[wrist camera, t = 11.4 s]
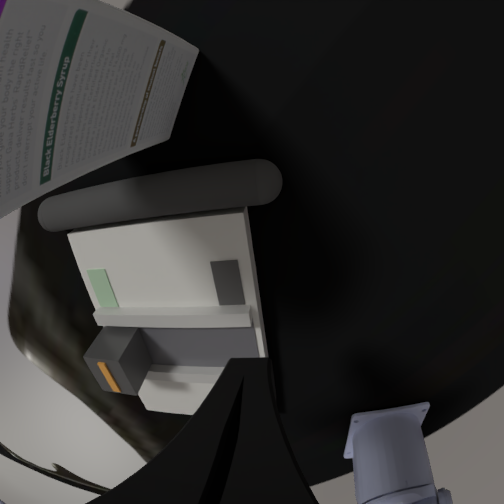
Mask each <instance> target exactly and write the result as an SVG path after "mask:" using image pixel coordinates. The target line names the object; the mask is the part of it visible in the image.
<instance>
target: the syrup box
mask: <svg viewBox="0 0 504 504" xmlns="http://www.w3.org/2000/svg"><path fill="white" fill-rule="evenodd" d="M198 53H199V49H198V48H196V47H195V46H193V45H191V44H189V43H188V42H186V41H184V40H183V39H181V38H180V37H178V36H176V35H174V34H172V33H170V32H168V31H166V30H165V29H163V28H161V27H159V26H157V25H155V24H153V23H150V22H148V21H146V20H144V19H142V18H140V17H138V16H136V15H133V14H131V13H129V12H127V11H124V10H122V9H120V8H117V7H114V6H112V5H110V4H107V3H104V2H102V1H99V0H0V219H1V218H2V217H4V216H6V215H7V214H9V213H11V212H12V211H14V210H16V209H18V208H20V207H21V206H23V205H25V204H27V203H28V202H30V201H32V200H34V199H36V198H38V197H40V196H42V195H43V194H45V193H47V192H49V191H51V190H53V189H55V188H57V187H59V186H61V185H63V184H66V183H68V182H70V181H72V180H74V179H76V178H78V177H80V176H82V175H84V174H86V173H88V172H91V171H93V170H95V169H98V168H100V167H102V166H104V165H107V164H109V163H111V162H113V161H116V160H118V159H120V158H123V157H125V156H127V155H130V154H132V153H135V152H137V151H140V150H143V149H145V148H148V147H151V146H153V145H156V144H159V143H162V142H164V141H167V140H168V139H169V138H170V135H171V132H172V129H173V125H174V122H175V119H176V116H177V113H178V110H179V107H180V104H181V100H182V97H183V95H184V91H185V88H186V86H187V83H188V80H189V77H190V74H191V71H192V69H193V66H194V63H195V61H196V58H197V55H198Z"/></svg>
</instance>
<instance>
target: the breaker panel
mask: <svg viewBox="0 0 504 504" xmlns="http://www.w3.org/2000/svg"><path fill="white" fill-rule="evenodd" d="M67 235H68V238H69V241H70V244H71V247H72V250H73V253H74V256H75V259H76V261H77V264H78V267H79V270H80V272H81V275H82V277H83V280H84V283H85V285H86V288H87V290H88V293H89V295H90V297H91V300H92V302H93V305H94V307H95V309H96V311H95V312H94V314H93V316H94V318H95V320H96V322H97V324H98V325H99V326H103V327H104V326H116V327H138V328H139V331H140V333H141V336H142V338H143V340H144V343H145V345H146V347H147V350H148V352H149V354H150V356H151V359H152V361H153V362H152V365H151V367H150V369H149V371H148V373H147V375H146V377H145V379H144V382H143V384H142V386H141V388H140V390H139V392H138V395H139V397H140V398H141V400H142V402H143V403H144V405H145V407H146V408H147V410H152V411H160V412H169V413H178V414H189V415H193V414H194V413H195V412H196V411H197V409H198V408H199V406H200V405H201V404H202V402H203V401H204V399H205V398H206V396H207V395H208V393H209V392H210V391H211V389H212V387H213V386H214V384H215V383H216V381H217V380H218V378H219V376H220V375H221V373H222V371H223V369H224V368H225V366H226V364H227V362H228V360H229V359H230V358H257V357H268V350H267V343H266V336H265V329H264V322H263V315H262V308H261V301H260V294H259V287H258V280H257V273H256V266H255V259H254V252H253V245H252V238H251V231H250V224H249V217H248V210H247V206H245V207H234V208H225V209H215V210H206V211H197V212H189V213H180V214H172V215H164V216H156V217H149V218H141V219H134V220H127V221H119V222H113V223H106V224H99V225H93V226H86V227H80V228H76V229H74V230H73V231H71V232H70V233H69V234H67ZM268 358H269V357H268Z"/></svg>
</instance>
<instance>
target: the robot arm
mask: <svg viewBox="0 0 504 504" xmlns="http://www.w3.org/2000/svg"><path fill="white" fill-rule="evenodd" d="M429 407H430V404H429V402H423V403H418V404H413V405H407V406H402V407H396V408H390V409H383V410H376V411H369V412H361V413H355V414H353V415H352V417H351V422H350V427H349V432H348V437H347V442H346V446H345V451H344V458H353V469H354V481H355V496H356V500H357V504H453V502H452V498H451V493H450V491H449V490H447V489H446V490H445V488H441V489H439V490H438V492H437V489H436V487H435V485H434V480H433V475H432V471H431V466H430V462H429V458H428V454H427V450H426V445H425V442H424V438H423V434H422V430H421V424H422V422H423V420H424V418H425V416H426V414H427V411H428V409H429ZM0 504H5V503H4V502H3V501H1V500H0ZM86 504H319V503H318V501H317V500H316V498H315V496H314V494H313V492H312V490H311V489H310V487H309V485H308V483H307V481H306V479H305V477H304V475H303V473H302V471H301V469H300V467H299V465H298V463H297V461H296V458H295V456H294V454H293V451H292V449H291V447H290V444H289V441H288V439H287V436H286V433H285V431H284V428H283V425H282V422H281V418H280V415H279V412H278V408H277V404H276V388H275V381H274V373H273V366H272V360H271V359H270V358H268V357H257V358H230V359H229V360H228V362H227V364H226V366H225V368H224V369H223V371H222V373H221V375H220V376H219V378H218V380H217V381H216V383H215V384H214V386H213V387H212V389H211V391H210V392H209V393H208V395H207V396H206V398H205V399H204V401H203V402H202V404H201V405H200V406H199V408H198V409H197V411H196V412H195V413H194V414H193V416H192V417H191V418H190V419H189V421H188V422H187V423H186V424H185V426H184V427H183V428H182V429H181V430H180V432H179V433H178V434H177V435H176V436H175V437H174V438H173V439H172V440H171V441H170V442H169V443H168V444H167V445H166V447H165V448H164V449H163V450H161V451H160V452H159V453H158V454H157V455H156V456H155V457H154V458H153V459H152V460H150V461H149V462H148V463H147V464H146V465H145V466H144V467H142V468H141V469H140V470H138V471H137V472H136V473H134V474H133V475H132V476H130V477H129V478H127V479H126V480H125V481H123V482H122V483H120V484H119V485H118V486H116V487H114V488H113V489H111V490H110V491H108V492H106V493H104V494H102V495H101V496H99V497H97V498H95V499H93V500H91V501H90V502H88V503H86Z"/></svg>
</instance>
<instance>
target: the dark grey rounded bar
mask: <svg viewBox="0 0 504 504" xmlns="http://www.w3.org/2000/svg"><path fill="white" fill-rule="evenodd" d="M281 189H282V175H281V173H280V171H279V169H278V168H277V167H276V166H275V165H274V164H273V163H272V162H270V161H268V160H265V159H251V160H242V161H234V162H226V163H219V164H212V165H205V166H198V167H191V168H185V169H179V170H173V171H167V172H161V173H156V174H150V175H145V176H140V177H134V178H129V179H125V180H120V181H115V182H110V183H106V184H101V185H97V186H92V187H88V188H84V189H80V190H76V191H72V192H68V193H64V194H60V195H56V196H52V197H49V198H47V199H45V200H44V201H43V202H42V203H41V205H40V207H39V210H38V220H39V222H40V224H41V226H42V227H43V228H44V229H46V230H48V231H51V232H55V231H61V230H68V229H74V228H80V227H86V226H93V225H99V224H106V223H113V222H119V221H127V220H134V219H141V218H149V217H156V216H164V215H172V214H180V213H189V212H197V211H206V210H215V209H225V208H234V207H245V206H255V205H263V204H267V203H270V202H271V201H273V200H274V199H275V198H276V197H277V196H278V195H279V193H280V191H281Z"/></svg>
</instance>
